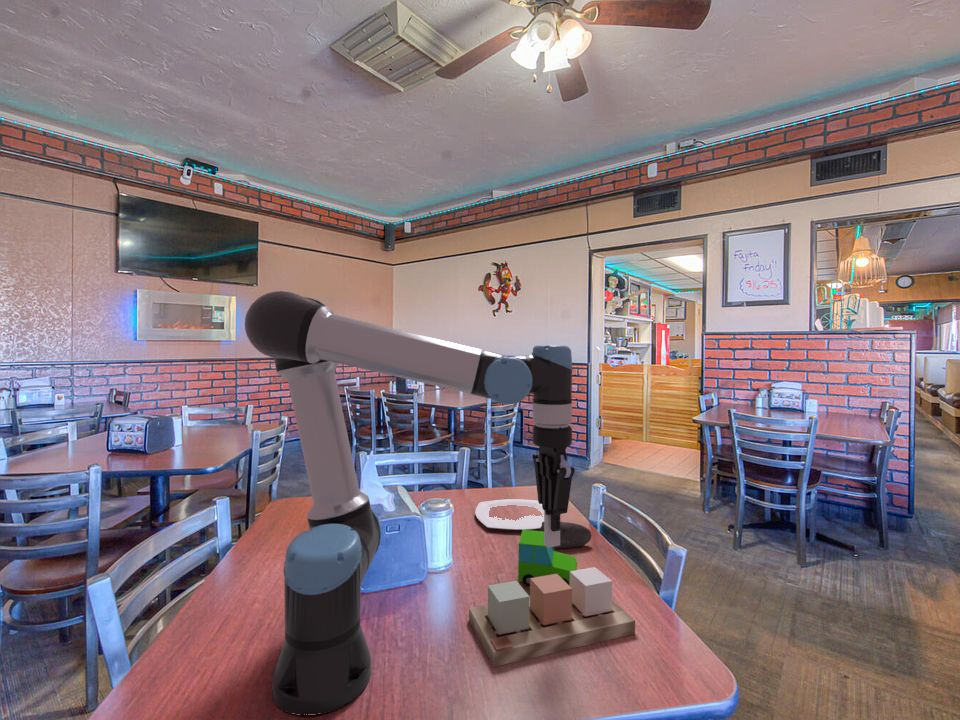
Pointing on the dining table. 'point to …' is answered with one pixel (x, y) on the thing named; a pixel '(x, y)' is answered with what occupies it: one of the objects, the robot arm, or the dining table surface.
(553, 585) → the terracotta button
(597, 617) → the board
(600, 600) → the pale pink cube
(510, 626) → the sage button
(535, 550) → the toy car
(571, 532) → the perforated stone tool
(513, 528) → the plate
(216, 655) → the dining table surface
